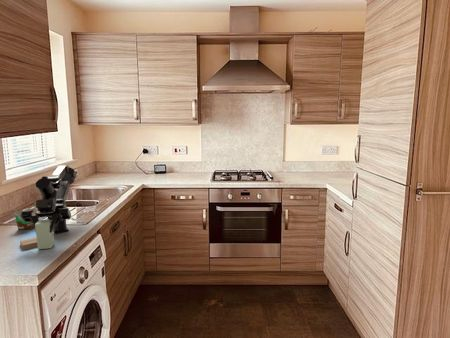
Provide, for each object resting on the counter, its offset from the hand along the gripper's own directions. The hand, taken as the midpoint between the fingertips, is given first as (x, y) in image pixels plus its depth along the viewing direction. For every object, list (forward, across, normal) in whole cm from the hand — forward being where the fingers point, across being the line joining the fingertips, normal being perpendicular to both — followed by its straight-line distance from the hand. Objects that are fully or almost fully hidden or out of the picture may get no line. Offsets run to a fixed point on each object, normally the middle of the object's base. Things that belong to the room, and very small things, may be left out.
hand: (43, 232), depth 136 cm
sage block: (+4, 0, +6) cm, 7 cm away
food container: (-18, -17, +28) cm, 37 cm away
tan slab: (+1, -8, +9) cm, 12 cm away
